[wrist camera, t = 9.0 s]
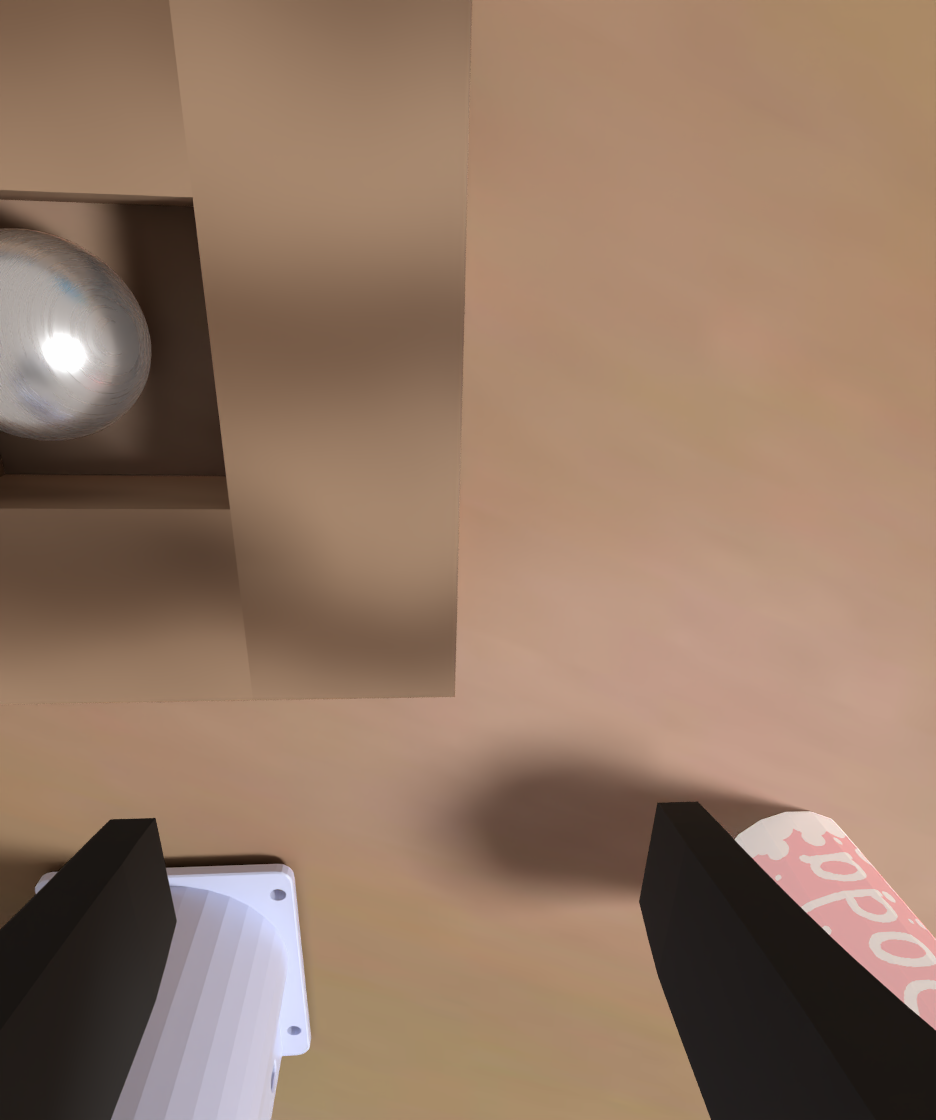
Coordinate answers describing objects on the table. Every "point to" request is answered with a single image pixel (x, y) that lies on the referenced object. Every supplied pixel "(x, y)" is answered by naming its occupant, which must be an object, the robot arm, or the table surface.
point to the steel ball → (65, 339)
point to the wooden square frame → (258, 349)
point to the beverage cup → (848, 902)
